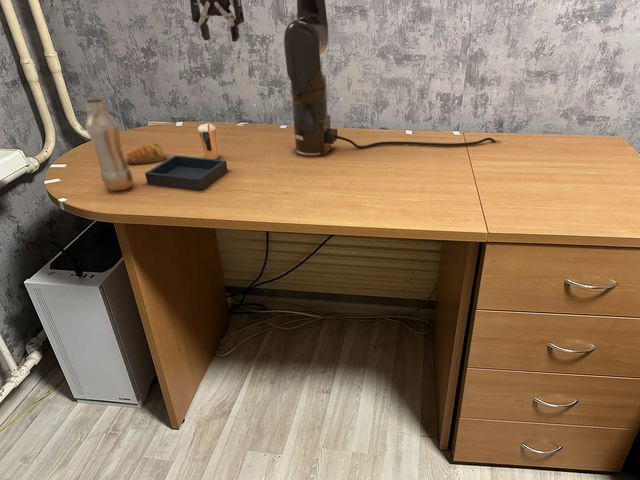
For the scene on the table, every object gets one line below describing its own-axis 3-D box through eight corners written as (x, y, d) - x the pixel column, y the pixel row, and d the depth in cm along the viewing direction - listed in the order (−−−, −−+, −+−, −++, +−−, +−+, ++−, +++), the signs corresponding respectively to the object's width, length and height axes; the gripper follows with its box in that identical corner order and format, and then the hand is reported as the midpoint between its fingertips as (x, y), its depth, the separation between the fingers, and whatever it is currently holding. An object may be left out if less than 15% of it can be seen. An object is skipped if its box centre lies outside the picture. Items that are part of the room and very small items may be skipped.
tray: (227, 171, 122) (226, 160, 121) (201, 190, 112) (199, 179, 111) (177, 165, 126) (175, 155, 124) (147, 184, 115) (144, 173, 114)
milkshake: (206, 163, 127) (199, 125, 121) (201, 157, 131) (194, 120, 125) (223, 160, 129) (217, 123, 123) (218, 154, 133) (212, 117, 127)
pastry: (132, 167, 124) (128, 153, 122) (124, 160, 129) (120, 146, 127) (167, 159, 129) (164, 145, 127) (159, 152, 134) (155, 139, 131)
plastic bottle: (117, 196, 110) (90, 106, 99) (99, 189, 113) (70, 102, 102) (141, 186, 114) (118, 99, 103) (123, 180, 117) (98, 95, 106)
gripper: (243, -29, 125) (250, 39, 134) (194, -30, 128) (204, 37, 137) (229, -28, 119) (238, 43, 128) (178, -29, 122) (190, 41, 131)
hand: (221, 40), depth 133 cm, fingers open, 8 cm apart
